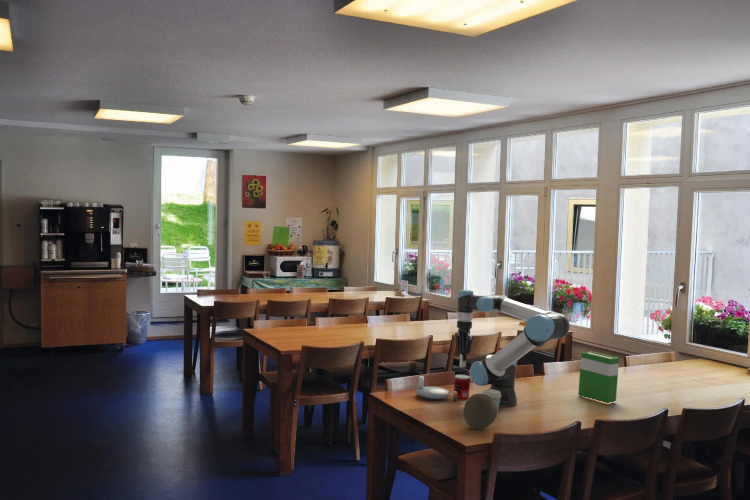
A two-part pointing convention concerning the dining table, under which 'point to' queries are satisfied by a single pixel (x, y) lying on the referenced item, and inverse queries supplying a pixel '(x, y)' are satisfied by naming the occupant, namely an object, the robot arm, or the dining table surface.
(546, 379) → the dining table surface
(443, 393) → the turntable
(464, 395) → the canned food
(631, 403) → the dining table surface
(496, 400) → the coffee cup
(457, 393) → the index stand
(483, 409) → the cantaloupe
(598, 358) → the hardback book
